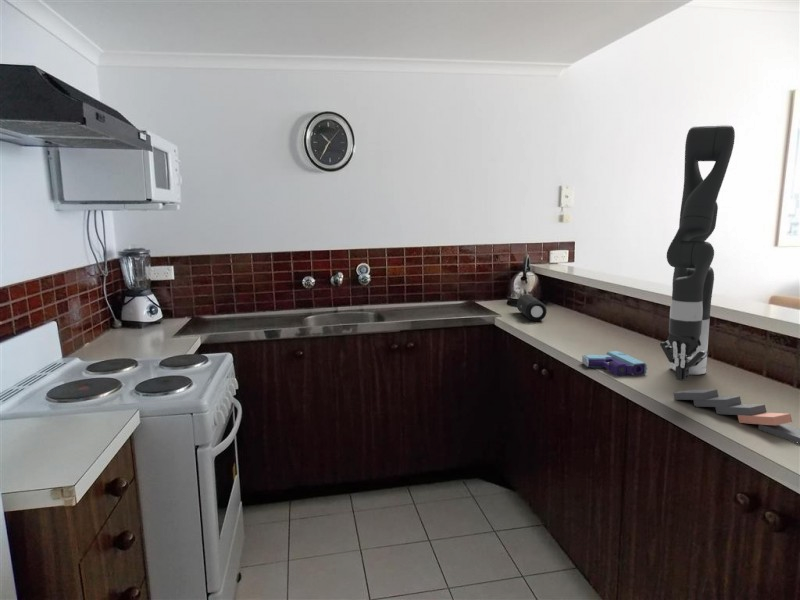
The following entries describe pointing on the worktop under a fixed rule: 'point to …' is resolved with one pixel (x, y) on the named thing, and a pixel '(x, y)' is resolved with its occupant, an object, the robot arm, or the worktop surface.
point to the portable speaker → (531, 307)
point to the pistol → (616, 363)
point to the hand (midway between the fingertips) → (681, 380)
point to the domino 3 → (742, 409)
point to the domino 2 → (718, 401)
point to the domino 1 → (695, 394)
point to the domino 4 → (766, 418)
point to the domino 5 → (782, 431)
